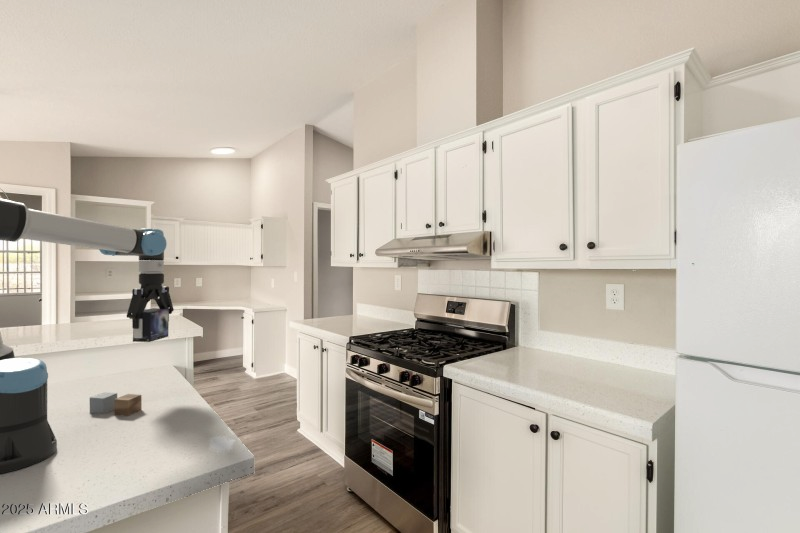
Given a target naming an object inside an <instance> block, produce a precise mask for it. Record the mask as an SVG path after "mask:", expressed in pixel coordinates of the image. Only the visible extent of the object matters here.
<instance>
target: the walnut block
mask: <svg viewBox="0 0 800 533" xmlns="http://www.w3.org/2000/svg"><path fill="white" fill-rule="evenodd" d="M142 405H143V404H142V394H137V393H136V394H135V393H126V394H124V395H121V396H120V397H119V396H118V397H117V398H116V399H114V410H113V412H114V413H113V415H114V416H121V415H124V417H130V416H132V415H133V414H135V413H138V412H140V411H142V407H143V406H142ZM131 414H132V415H131Z"/></svg>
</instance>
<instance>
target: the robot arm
mask: <svg viewBox="0 0 800 533" xmlns="http://www.w3.org/2000/svg"><path fill="white" fill-rule="evenodd" d="M21 239H23V240H29V241H36V242H37V241H38V242H44V243H45V242H46V243H51V244H52V243H53V244H59V245H68V246H73V247H81V248H88V249H96V250H98V251H99V252H100V253H101V254H103V255H104V256H114V257H115V256H121V257H122V256H129V257H130V256H133V257H134V256H135V257H138V272H139V274H138V284H139V285H140V287H139V288H133V289H132V291H131V292H132V296H131V300H130V303H129V306H128V310H127V312H126V318H128V319H130V320H132V321H131V322H132V323H131V325H132V326H131V327H132V329H134V338H142V319H140V317H141V315H142V313H143V311H144V310H146V307H147V305H148V303H149V302H150V301H151V300H154V301H155V302H156V305H157V306H158V308H159V309H169V315H171V314H172V313H173V312H174V310H175V309H174V306H173V302H172V298H171V295H170V287H169V286H163V285H162V284H164V283H165V274H164V273H163V272H165V269H164V268H165V264H164V263H165V261H164V260H165V251H166V249H167V239H166V237H165V236H164V231H163V230H161V229H159V228H140V229H134V228H130V227H126V226H120V225H115V224H109V223H104V222H100V221H94V220H88V219H83V218H79V217H73V216H67V215H63V214H58V213H52V212H47V211H42V210H36V209H33V208H28V206H26V204H24V203H23V202H19V201H18V202H17V201H13V200H9V199H6V198H5V199H4V198H0V241H5V242H6V241H7V242H13V243H14V242H17V241H19V240H21ZM48 378H49V373H48V367H47V364H46V362H45V361H43V360H40V359H37V358H32V357H27V358H26V357H25V358H24V357H15V352H14V348H13V347H11V346H8V345H7V344H4V343H3V338H2V334H1V332H0V474H4V473H9V472H13V471H17V470H21V469H23V468H26V467H27V468H28V467H29V466H32V465H34V464H37V463H40V462H41V461H44V460H46V459H48V458H49V457H51V456H52V455H53V454H55V453H56V452H57V451H58V445H57V444H58V441H57V438H56V436H55V433H54V431H53V430H52V427H51V425H50V423H49V421H48Z"/></svg>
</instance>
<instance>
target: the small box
mask: <svg viewBox="0 0 800 533" xmlns="http://www.w3.org/2000/svg"><path fill="white" fill-rule="evenodd" d="M140 319H142V338H134V329H133V328H132V329H133V330H132V333H133V334H132V342H133V343H134V342H135V343H143V342H144V343H151V342H155V341H158V340H162V339H165V338H169V324H170V323H169V322H170V314H169V309H160V308H159V307H158V308H155V307H154V308H153V307H152V308H148V309H146V308H145V309H144V311H143V313H142V315H141V317H140Z"/></svg>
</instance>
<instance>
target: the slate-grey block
mask: <svg viewBox="0 0 800 533" xmlns="http://www.w3.org/2000/svg"><path fill="white" fill-rule="evenodd" d="M116 398H118V393H117V392H109V391H108V392H107V391H104V392H101V393H99V394H96V395H93V396H90V397H89V414H98V415H105V414H107V413H109V412H111V411H114V399H116Z"/></svg>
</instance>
